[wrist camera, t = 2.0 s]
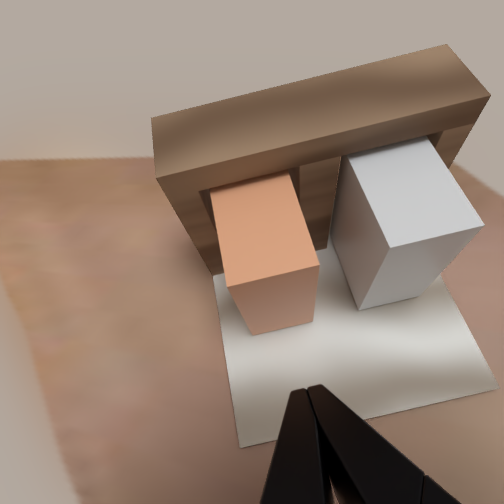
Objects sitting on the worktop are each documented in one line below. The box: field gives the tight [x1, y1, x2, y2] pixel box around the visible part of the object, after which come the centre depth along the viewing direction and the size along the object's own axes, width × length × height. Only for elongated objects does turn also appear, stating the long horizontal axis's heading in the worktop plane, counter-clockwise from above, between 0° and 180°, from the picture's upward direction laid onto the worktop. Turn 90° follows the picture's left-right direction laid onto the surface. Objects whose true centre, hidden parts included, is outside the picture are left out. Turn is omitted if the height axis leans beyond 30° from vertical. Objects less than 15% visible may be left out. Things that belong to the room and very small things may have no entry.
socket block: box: [151, 44, 500, 448], centre depth 18 cm, size 15×15×11 cm
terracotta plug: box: [209, 169, 320, 336], centre depth 19 cm, size 6×4×8 cm, turn 12°
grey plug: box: [330, 135, 485, 311], centre depth 19 cm, size 6×4×8 cm, turn 11°
